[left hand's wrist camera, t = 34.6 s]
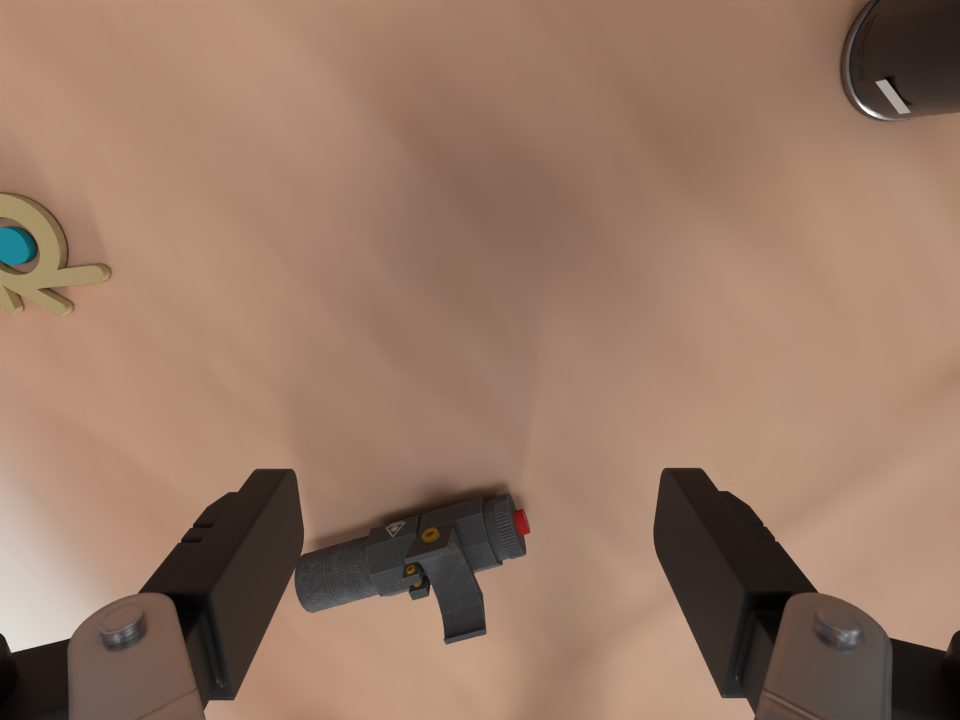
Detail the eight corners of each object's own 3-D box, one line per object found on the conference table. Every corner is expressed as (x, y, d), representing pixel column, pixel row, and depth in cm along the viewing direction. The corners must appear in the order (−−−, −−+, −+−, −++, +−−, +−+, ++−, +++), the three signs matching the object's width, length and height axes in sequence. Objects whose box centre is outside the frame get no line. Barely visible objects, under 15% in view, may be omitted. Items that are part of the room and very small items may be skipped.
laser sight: (298, 523, 53) (259, 600, 44) (508, 461, 51) (515, 527, 41) (338, 594, 56) (310, 680, 47) (537, 539, 54) (550, 617, 44)
